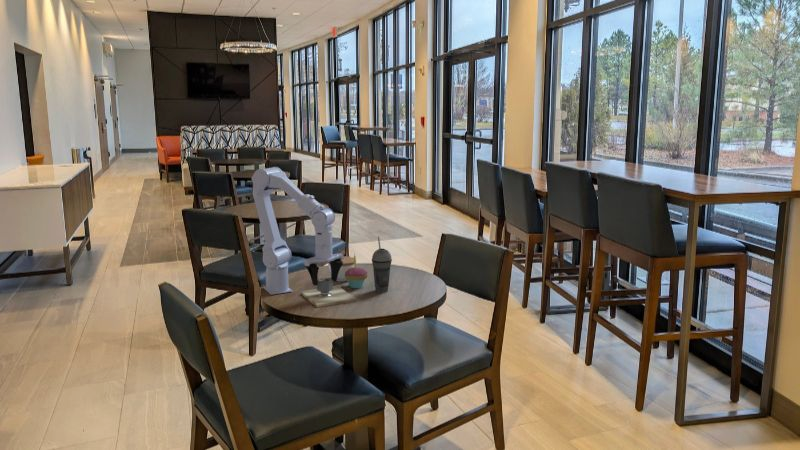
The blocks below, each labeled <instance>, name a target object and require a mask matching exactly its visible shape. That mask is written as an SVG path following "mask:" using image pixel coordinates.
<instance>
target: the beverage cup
mask: <svg viewBox="0 0 800 450" xmlns="http://www.w3.org/2000/svg"><path fill="white" fill-rule="evenodd" d="M380 240H381V239H380V236H377V242H378V249H376V250H375V251H374V252H373V253H372V255H371V256H372V257H371V263H372V264H371V265H372V269H373V280H374V290H375V292H376V293H378V292H379V294H385V293H387V292H388V291H389V284H390V274H391V266H392V261H393V259H392V255H391V253H390V251H389V250H388V249H386V248H382V247H381V241H380Z"/></svg>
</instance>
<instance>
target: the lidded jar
mask: <svg viewBox="0 0 800 450" xmlns="http://www.w3.org/2000/svg"><path fill="white" fill-rule="evenodd" d="M341 261H343V265H342V266H341V268H340V270H339V273H338V276H337V281H336V282H348V281H347V279H346V278H345V272H346V271H347V270H348V269H350V268H354V256H345V255H344V260H341ZM327 265H328V266H327V267H328V272H329V274H330V276H331V266H330V262H327Z"/></svg>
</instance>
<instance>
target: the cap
mask: <svg viewBox="0 0 800 450" xmlns="http://www.w3.org/2000/svg"><path fill="white" fill-rule="evenodd" d="M333 283H334V281H333V280H332V278H330V277H325V278H323V277H322V278H318V284H317V285H316V289H317V290H318V291H320V292H329V291H331V290H333V287H334V284H333Z"/></svg>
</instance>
